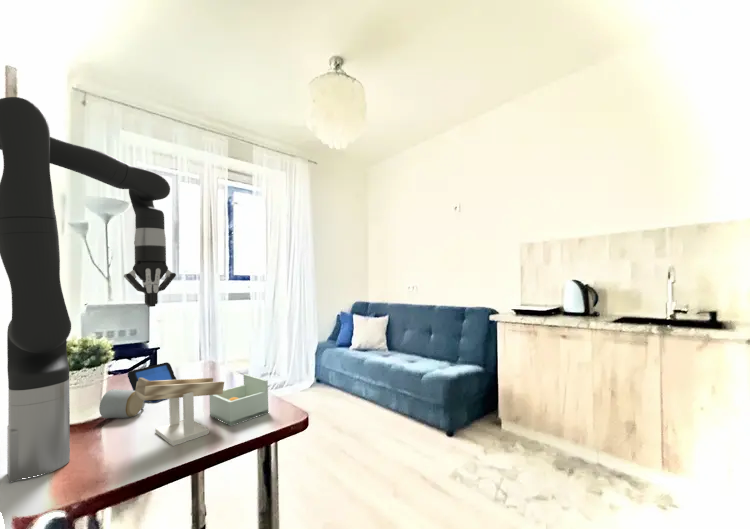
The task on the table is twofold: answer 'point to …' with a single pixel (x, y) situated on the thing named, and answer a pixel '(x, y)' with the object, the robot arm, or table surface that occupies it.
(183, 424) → the chute stand
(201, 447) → the table surface
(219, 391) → the chute lever
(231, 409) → the bin
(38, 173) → the robot arm
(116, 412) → the grey canister
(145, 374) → the tablet display
